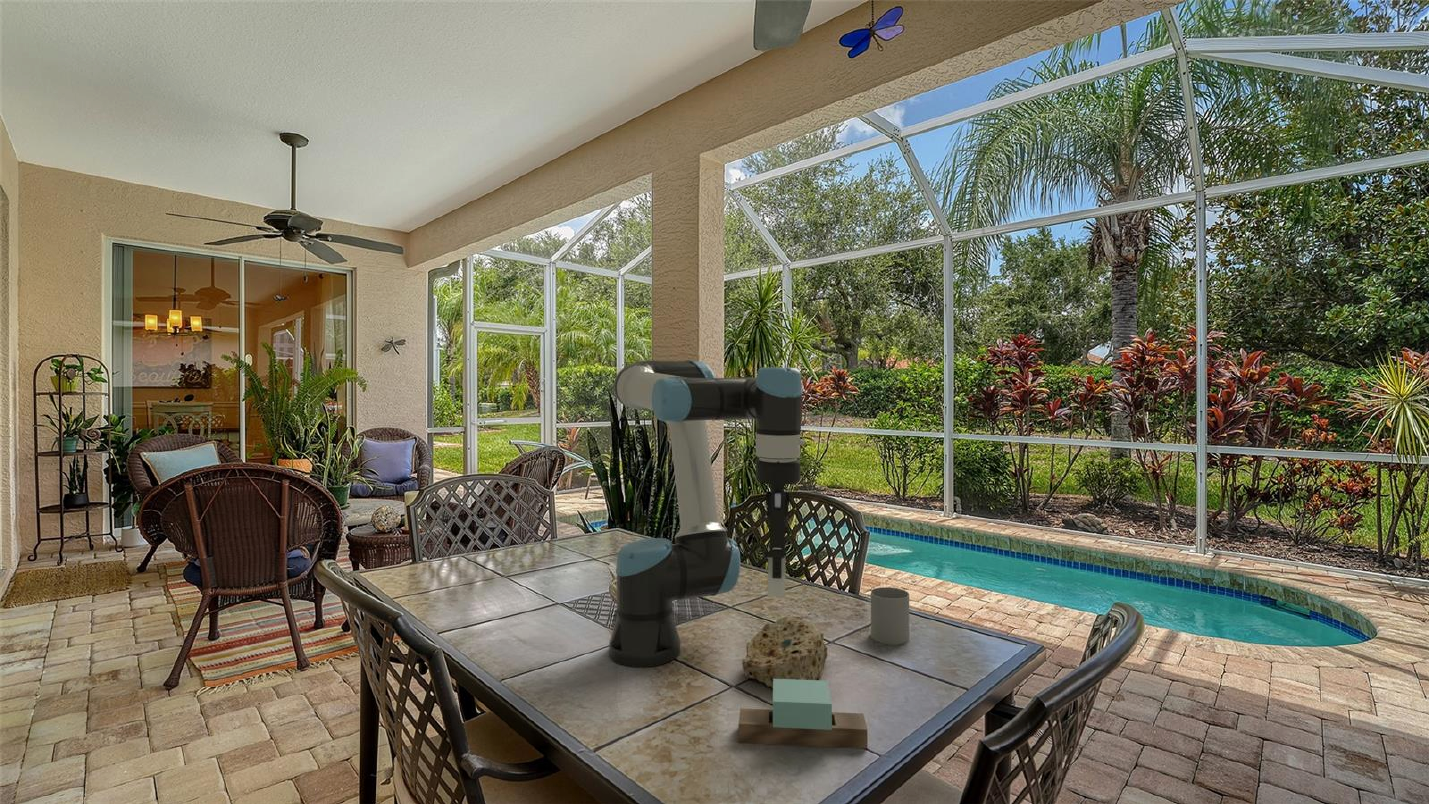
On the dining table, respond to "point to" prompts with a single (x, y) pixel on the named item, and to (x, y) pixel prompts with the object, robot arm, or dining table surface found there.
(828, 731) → the rail
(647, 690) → the dining table surface
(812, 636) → the rock
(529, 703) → the dining table surface
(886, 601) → the cup
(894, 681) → the dining table surface
